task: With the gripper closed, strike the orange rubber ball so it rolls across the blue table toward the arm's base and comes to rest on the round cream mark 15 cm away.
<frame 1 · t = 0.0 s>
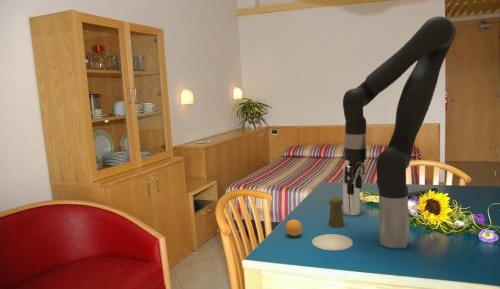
hand: (354, 191, 142), 17 cm above the table, tool pointing down, fingers open, 8 cm apart
brown rounded upright piece: (336, 225, 158), on the table
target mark: (332, 242, 142), on the table
water bottle: (351, 213, 170), on the table
ball: (293, 227, 149), on the table
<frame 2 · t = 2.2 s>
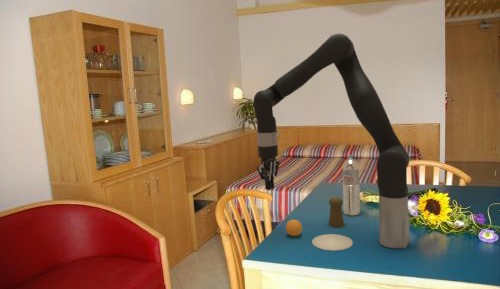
hand: (269, 188, 152), 17 cm above the table, tool pointing down, fingers closed
nothing on the table moved.
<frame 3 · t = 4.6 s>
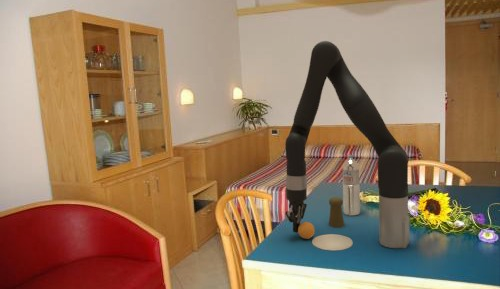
hand: (296, 231, 149), 2 cm above the table, tool pointing down, fingers closed
ball: (306, 230, 146), on the table, touching gripper
everything else where it was.
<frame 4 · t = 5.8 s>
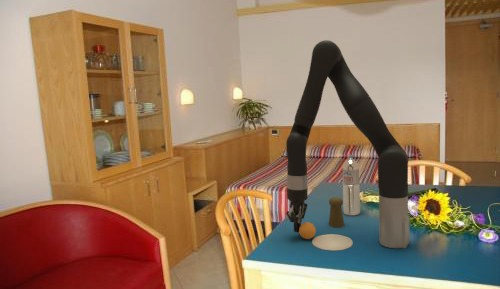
hand: (297, 231, 148), 2 cm above the table, tool pointing down, fingers closed
nothing on the table moved.
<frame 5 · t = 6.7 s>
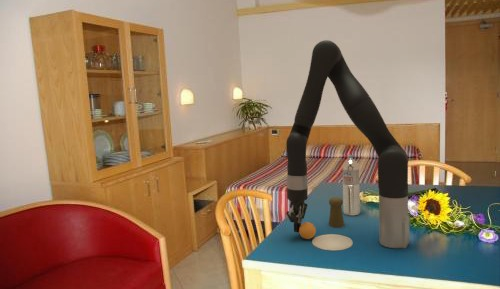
hand: (297, 231, 148), 2 cm above the table, tool pointing down, fingers closed
nothing on the table moved.
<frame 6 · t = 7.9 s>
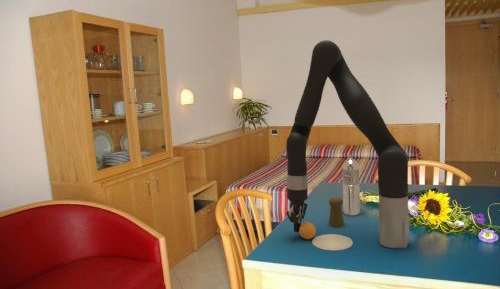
hand: (297, 231, 148), 2 cm above the table, tool pointing down, fingers closed
nothing on the table moved.
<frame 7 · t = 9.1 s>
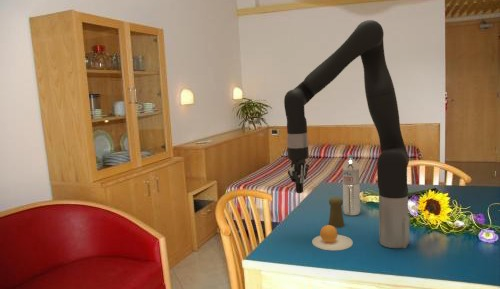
hand: (299, 192, 146), 17 cm above the table, tool pointing down, fingers closed
ball: (328, 233, 142), on the table
everything else where it was.
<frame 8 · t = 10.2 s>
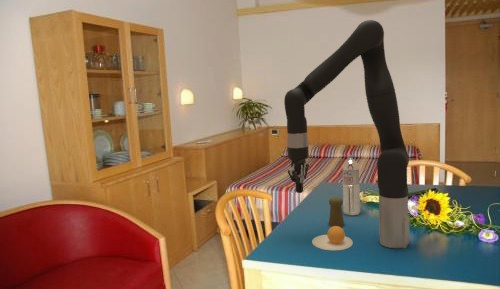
hand: (299, 192, 146), 17 cm above the table, tool pointing down, fingers closed
ball: (336, 234, 141), on the table
everything else where it was.
at the end: ball 1.4 cm from the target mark (horizontally); ball at rest at the end (0.0 cm/s); ball moved 16.4 cm from its start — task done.
